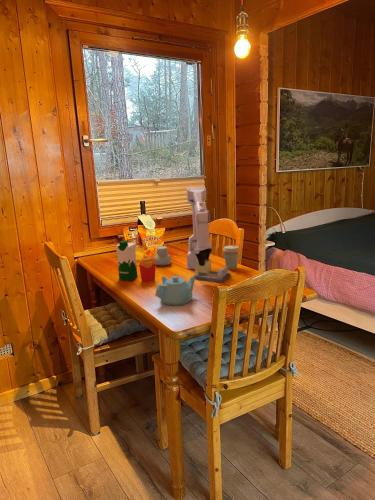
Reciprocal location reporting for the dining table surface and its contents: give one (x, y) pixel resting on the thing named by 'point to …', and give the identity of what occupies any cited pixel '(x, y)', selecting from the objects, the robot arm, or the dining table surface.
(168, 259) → the air freshener
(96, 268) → the dining table surface
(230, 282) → the dining table surface
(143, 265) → the french fries
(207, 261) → the brass block
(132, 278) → the milk carton
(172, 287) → the teapot
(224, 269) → the free jaw
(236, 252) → the coffee cup
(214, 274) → the vise base
